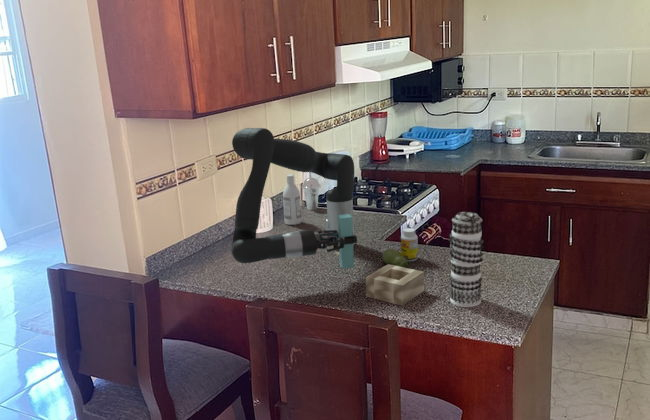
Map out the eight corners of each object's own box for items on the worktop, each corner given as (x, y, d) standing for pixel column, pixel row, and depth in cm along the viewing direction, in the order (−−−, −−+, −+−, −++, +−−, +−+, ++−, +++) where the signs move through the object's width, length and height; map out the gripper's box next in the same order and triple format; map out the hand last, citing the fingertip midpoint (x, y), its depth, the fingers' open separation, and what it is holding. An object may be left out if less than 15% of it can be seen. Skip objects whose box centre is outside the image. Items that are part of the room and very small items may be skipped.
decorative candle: (443, 296, 174) (443, 211, 168) (473, 292, 176) (474, 208, 169) (456, 309, 166) (458, 220, 159) (488, 305, 168) (490, 216, 161)
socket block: (366, 296, 177) (365, 276, 175) (388, 282, 186) (388, 264, 184) (402, 305, 170) (402, 285, 168) (423, 291, 179) (423, 271, 177)
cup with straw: (325, 206, 274) (322, 162, 269) (316, 212, 266) (314, 166, 261) (307, 205, 277) (305, 161, 272) (298, 210, 269) (296, 165, 264)
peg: (342, 268, 186) (340, 218, 182) (339, 264, 190) (337, 215, 185) (354, 267, 187) (352, 217, 182) (351, 263, 190) (349, 213, 186)
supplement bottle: (398, 257, 207) (397, 228, 204) (413, 255, 208) (413, 226, 205) (405, 263, 201) (404, 233, 199) (420, 260, 203) (420, 231, 200)
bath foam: (300, 219, 255) (297, 172, 250) (302, 224, 249) (299, 176, 243) (283, 221, 254) (280, 174, 249) (285, 226, 248) (282, 177, 242)
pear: (393, 244, 203) (412, 257, 195) (391, 258, 205) (411, 271, 197) (379, 247, 200) (399, 260, 192) (378, 262, 202) (397, 275, 194)
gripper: (302, 239, 175) (360, 232, 179) (294, 225, 189) (348, 218, 192) (304, 263, 177) (361, 256, 181) (295, 248, 191) (349, 241, 194)
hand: (354, 237), depth 186 cm, fingers closed on peg, 3 cm apart
